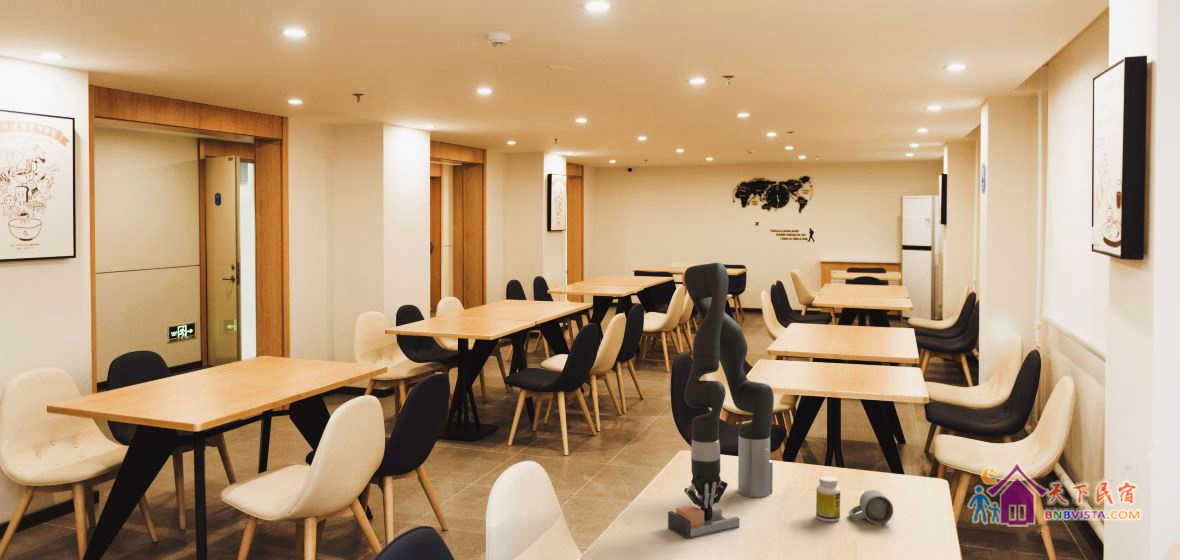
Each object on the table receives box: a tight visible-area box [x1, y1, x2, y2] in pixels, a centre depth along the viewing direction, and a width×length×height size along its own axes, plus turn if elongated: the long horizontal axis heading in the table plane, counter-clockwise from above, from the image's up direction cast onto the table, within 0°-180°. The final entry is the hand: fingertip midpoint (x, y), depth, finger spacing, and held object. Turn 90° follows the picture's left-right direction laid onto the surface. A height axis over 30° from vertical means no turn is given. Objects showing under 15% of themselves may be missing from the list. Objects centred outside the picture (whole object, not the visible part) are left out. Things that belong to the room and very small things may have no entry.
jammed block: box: [675, 504, 704, 527], centre depth 207 cm, size 5×6×5 cm
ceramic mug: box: [848, 489, 894, 525], centre depth 214 cm, size 11×8×8 cm
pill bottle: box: [815, 475, 841, 523], centre depth 215 cm, size 6×6×11 cm
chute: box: [667, 507, 740, 540], centre depth 209 cm, size 17×9×4 cm, turn 118°
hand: (706, 519), depth 209 cm, fingers closed
